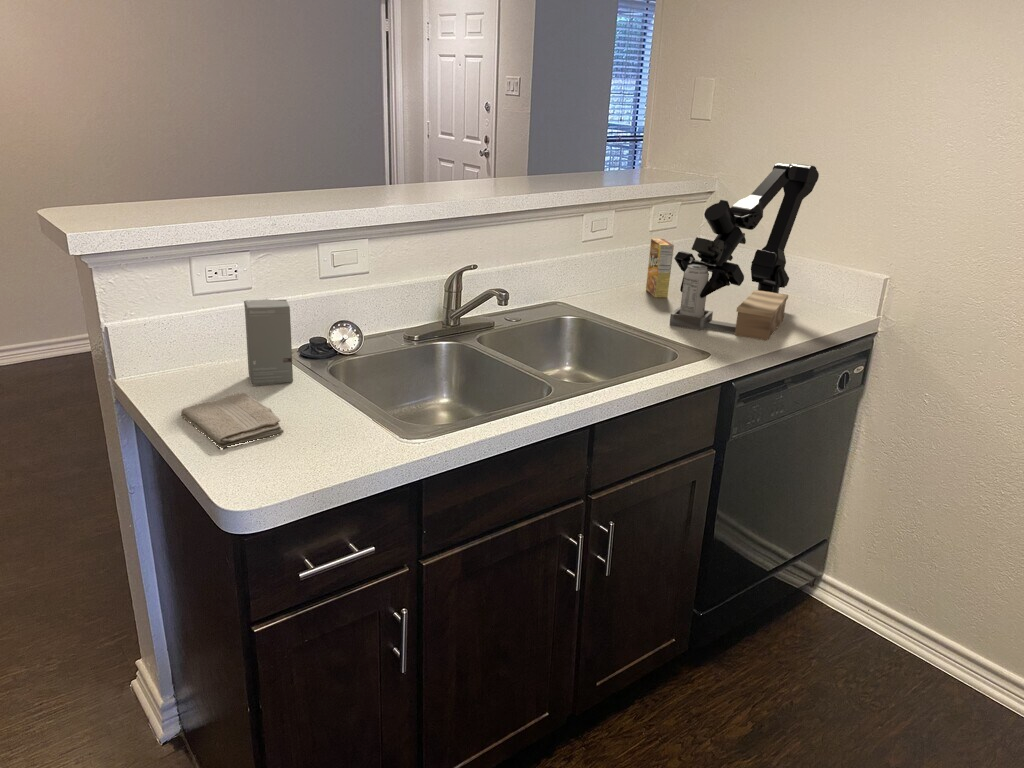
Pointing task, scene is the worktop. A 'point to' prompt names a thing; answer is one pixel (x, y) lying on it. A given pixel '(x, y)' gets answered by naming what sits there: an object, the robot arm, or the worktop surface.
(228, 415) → the washcloth
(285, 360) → the skincare box
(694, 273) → the energy drink can
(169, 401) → the worktop surface
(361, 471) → the worktop surface
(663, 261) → the candy box
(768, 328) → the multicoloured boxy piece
